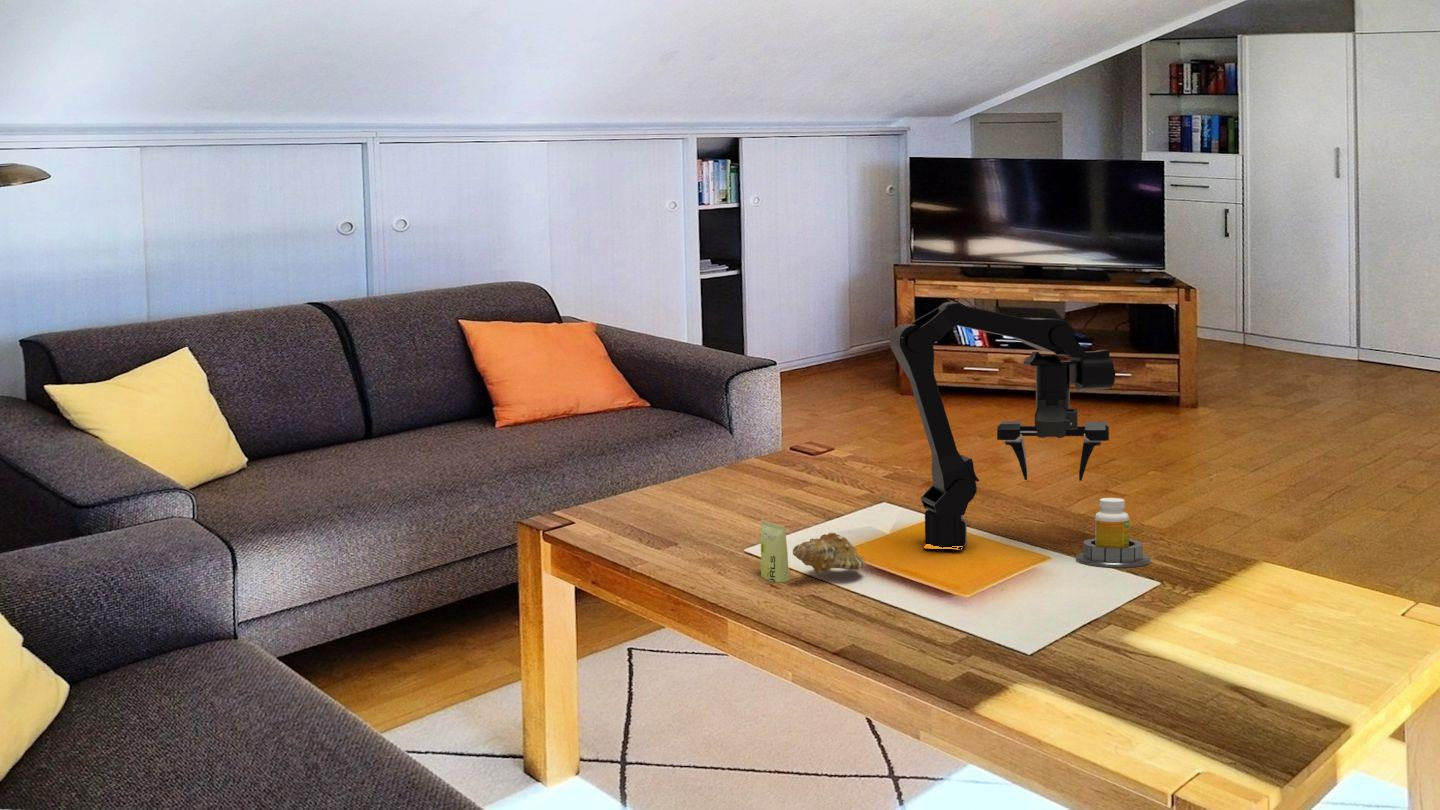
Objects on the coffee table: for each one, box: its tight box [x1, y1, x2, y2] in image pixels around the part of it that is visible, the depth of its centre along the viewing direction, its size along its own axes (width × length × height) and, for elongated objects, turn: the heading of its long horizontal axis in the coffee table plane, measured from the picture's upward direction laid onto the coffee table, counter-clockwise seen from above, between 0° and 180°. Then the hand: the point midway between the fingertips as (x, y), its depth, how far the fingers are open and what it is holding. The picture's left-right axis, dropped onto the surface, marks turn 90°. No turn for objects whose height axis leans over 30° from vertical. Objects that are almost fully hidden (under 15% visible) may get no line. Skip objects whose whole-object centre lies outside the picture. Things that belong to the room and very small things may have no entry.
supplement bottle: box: [1094, 497, 1130, 547], centre depth 224 cm, size 5×5×10 cm
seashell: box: [792, 532, 866, 574], centre depth 219 cm, size 9×8×10 cm
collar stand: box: [1075, 538, 1152, 569], centre depth 224 cm, size 12×12×3 cm
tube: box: [760, 519, 790, 583], centre depth 221 cm, size 6×5×20 cm
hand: (1053, 480), depth 235 cm, fingers open, 9 cm apart
